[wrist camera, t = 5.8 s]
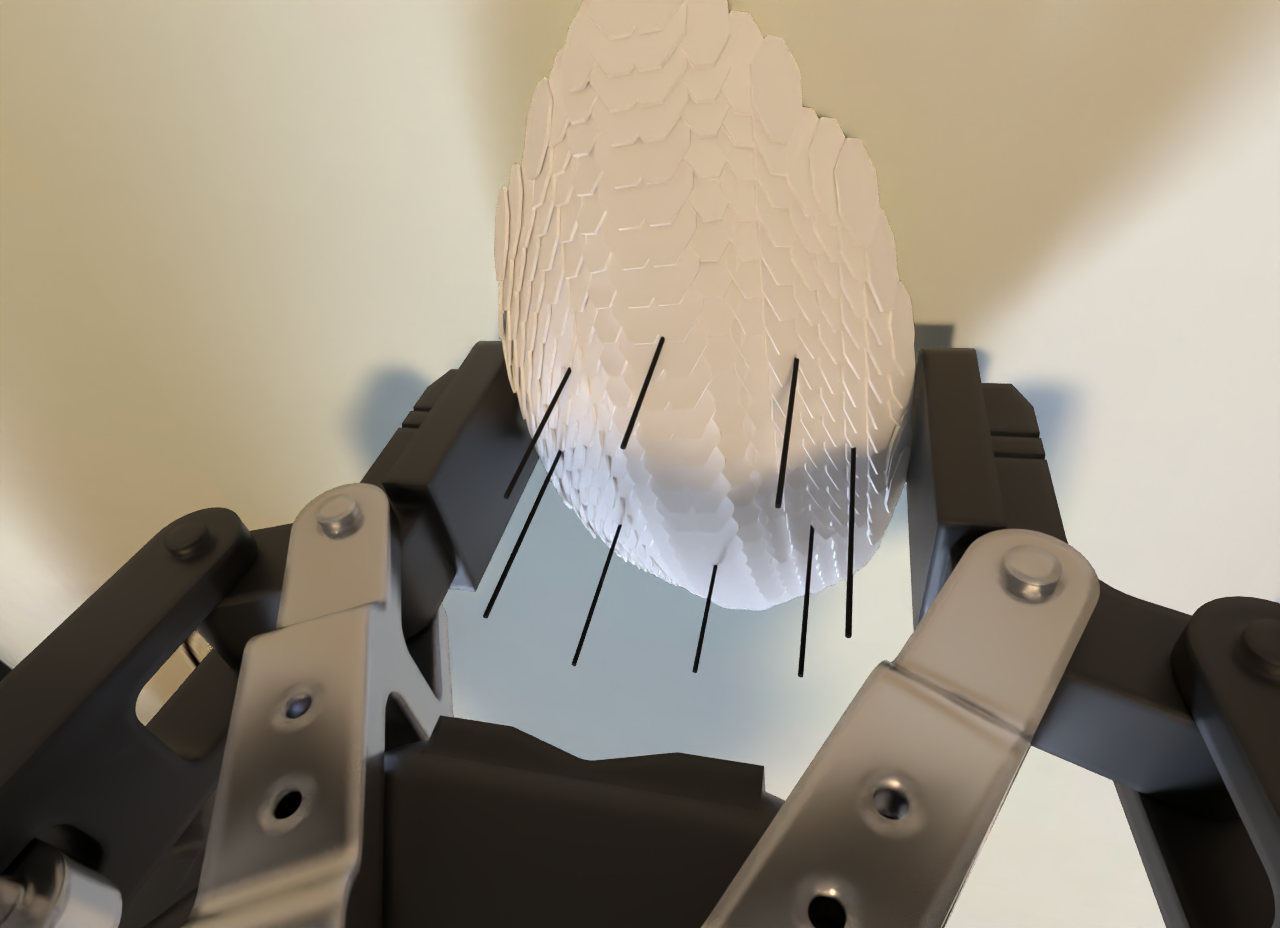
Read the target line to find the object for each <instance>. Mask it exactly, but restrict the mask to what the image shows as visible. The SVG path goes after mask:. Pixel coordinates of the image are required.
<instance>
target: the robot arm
mask: <svg viewBox="0 0 1280 928" xmlns="http://www.w3.org/2000/svg"><path fill="white" fill-rule="evenodd" d="M914 387H915V389H914V396H913V403H912V410H911V419H912V428H911V431H912V439H911V443H910V451H911V453H910V459H909V465H908V471H907V477H906V482H907V503H908V524H909V545H910V565H911V586H912V607H913V628H914V632H913V633H912V635H911V636H910V638H909V640H908V641H907V643H906V644H905V646H904V647H903V649H902V650H901V652H900V653H899V655H898V656H897V657H896V658H895V660H894V661H893V662H889V661H887V660H884V661H882V662H881V663H880V664H878V665H877V667H876V668H875V669H874V670H873V671H872V672H871V674H870V675H869V677H868V678H867V679H866V681H865V682H864V684H863V685H862V687H861V688H860V690H859V691H858V693H857V694H856V696H855V697H854V699H853V700H852V702H851V703H850V705H849V706H848V708H847V709H846V711H845V712H844V714H843V715H842V717H841V718H840V720H839V721H838V723H837V724H836V726H835V727H834V729H833V730H832V732H831V733H830V735H829V736H828V738H827V739H826V741H825V742H824V744H823V745H822V747H821V748H820V750H819V751H818V753H817V754H816V756H815V757H814V759H813V760H812V762H811V763H810V765H809V766H808V768H807V769H806V771H805V772H804V774H803V775H802V777H801V778H800V780H799V781H798V783H797V784H796V786H795V787H794V789H793V790H792V792H791V793H790V795H789V796H788V798H787V799H786V801H784V800H782V799H780V798H778V797H776V796H774V795H772V794H769V793H767V792H765V777H764V766H760V765H754V764H747V763H741V762H735V761H728V760H722V759H715V758H709V757H703V756H696V755H690V754H684V753H667V754H657V755H647V756H637V757H626V758H616V759H606V760H596V761H589V760H583V759H580V758H578V757H576V756H574V755H571V754H569V753H567V752H565V751H563V750H561V749H559V748H557V747H554V746H552V745H550V744H548V743H546V742H544V741H542V740H540V739H538V738H535V737H533V736H531V735H529V734H527V733H525V732H523V731H521V730H519V729H516V728H514V727H511V726H505V725H499V724H492V723H486V722H480V721H473V720H467V719H460V718H454V714H453V704H452V688H451V672H450V657H449V641H448V625H447V615H446V612H445V610H444V607H443V605H442V604H441V603H442V601H443V599H444V597H445V595H446V593H447V591H448V589H456V590H465V591H475V592H476V589H477V587H478V585H479V583H480V581H481V579H482V577H483V575H484V573H485V570H486V568H487V566H488V564H489V562H490V560H491V558H492V556H493V554H494V552H495V549H496V547H497V545H498V543H499V541H500V539H501V537H502V535H503V533H504V531H505V528H506V526H507V524H508V522H509V520H510V518H511V516H512V514H513V512H514V510H515V507H516V505H517V503H518V501H519V499H520V497H521V495H522V493H523V491H524V489H525V486H526V484H527V482H528V480H529V478H530V476H531V474H532V472H533V470H534V468H535V465H536V463H537V461H538V459H539V455H538V453H537V451H536V448H535V446H534V448H533V450H532V452H531V454H530V456H529V458H528V460H527V462H526V464H525V466H524V468H523V470H522V472H521V474H520V476H519V478H518V481H517V483H516V485H515V487H514V489H513V491H512V493H511V495H510V497H509V499H505V498H504V494H505V492H506V490H507V488H508V486H509V484H510V482H511V480H512V478H513V476H514V474H515V472H516V470H517V468H518V466H519V464H520V462H521V460H522V458H523V456H524V455H525V453H526V451H527V449H528V447H529V445H530V443H531V441H532V438H531V436H530V433H529V429H528V426H527V421H526V419H524V420H523V416H522V413H521V409H520V405H519V400H518V395H517V391H516V393H513V390H512V387H511V384H510V381H509V378H508V373H507V367H506V362H505V357H504V351H503V344H502V341H479V342H478V343H476V344H475V346H474V347H473V348H472V350H471V351H470V353H469V354H468V356H467V357H466V359H465V360H464V362H463V363H462V365H461V366H460V368H459V369H451V370H450V371H448V372H447V373H446V374H444V375H443V376H442V377H440V378H439V379H438V380H436V381H435V382H434V383H432V384H431V385H430V386H428V387H427V389H426V390H425V392H424V393H423V394H422V396H421V397H420V399H419V400H418V401H417V403H416V404H415V406H414V407H413V408H414V411H410V413H409V414H408V416H407V417H406V418H405V420H404V421H403V423H402V428H398V430H397V431H396V433H395V434H394V435H393V437H392V438H391V440H390V441H389V442H388V444H387V445H386V447H385V448H384V449H383V451H382V452H381V454H380V455H379V457H378V458H377V459H376V461H375V462H374V464H373V465H372V466H371V468H370V469H369V471H368V472H367V473H366V475H365V476H364V478H363V479H362V481H361V482H360V483H353V484H347V485H342V486H339V487H336V488H333V489H331V490H329V491H326V492H325V493H323V494H321V495H319V496H318V497H316V498H315V499H313V500H312V501H311V502H310V503H308V504H307V505H306V506H305V507H304V508H303V509H302V510H301V511H300V513H299V514H298V515H297V517H296V519H295V521H294V523H292V524H286V525H281V526H275V527H270V528H264V529H259V530H253V531H249V530H248V529H247V528H246V526H245V525H244V523H243V522H242V521H241V519H240V518H239V516H238V515H237V514H236V513H235V512H233V511H232V510H229V509H226V508H207V509H202V510H199V511H195V512H192V513H190V514H187V515H185V516H183V517H181V518H179V519H177V520H175V521H174V522H172V523H170V524H169V525H168V526H166V527H165V528H163V529H162V530H161V531H160V532H159V533H157V534H156V535H155V536H154V537H153V538H152V539H151V540H150V541H149V542H148V543H147V544H146V545H145V546H144V547H142V548H141V549H140V550H139V551H138V552H137V553H136V554H135V555H134V556H133V557H132V558H131V559H130V560H129V561H128V562H127V563H125V564H124V565H123V566H122V567H121V568H120V569H119V570H118V571H117V572H116V573H115V574H114V575H113V576H112V577H111V578H110V579H108V580H107V581H106V582H105V583H104V584H103V585H102V586H101V587H100V588H99V589H98V590H97V591H96V592H95V593H94V594H93V595H91V596H90V597H89V598H88V599H87V600H86V601H85V602H84V603H83V604H82V605H81V606H80V607H79V608H78V609H77V610H76V611H74V612H73V613H72V614H71V615H70V616H69V617H68V618H67V619H66V620H65V621H64V622H63V623H62V624H61V625H60V626H59V627H57V628H56V629H55V630H54V631H53V632H52V633H51V634H50V635H49V636H48V637H47V638H46V639H45V640H44V641H43V642H42V643H40V644H39V645H38V646H37V647H36V648H35V649H34V650H33V651H32V652H31V653H30V654H29V655H28V656H27V657H26V658H25V659H23V660H22V661H21V662H20V663H19V664H18V665H17V666H16V667H15V668H14V669H13V670H12V671H11V672H10V673H9V674H8V675H6V676H5V677H4V678H3V679H2V680H1V681H0V928H945V926H946V924H947V922H948V920H949V918H950V916H951V913H952V911H953V909H954V907H955V905H956V903H957V901H958V899H959V897H960V894H961V892H962V890H963V888H964V886H965V884H966V882H967V880H968V877H969V875H970V873H971V871H972V869H973V867H974V865H975V863H976V860H977V858H978V856H979V854H980V852H981V850H982V848H983V846H984V843H985V841H986V839H987V837H988V835H989V833H990V831H991V829H992V827H993V825H994V822H995V820H996V818H997V816H998V814H999V812H1000V810H1001V808H1002V806H1003V804H1004V802H1005V799H1006V797H1007V795H1008V793H1009V791H1010V789H1011V787H1012V785H1013V783H1014V781H1015V778H1016V776H1017V774H1018V772H1019V770H1020V768H1021V766H1022V764H1023V762H1024V760H1025V757H1026V755H1027V753H1028V751H1029V749H1030V747H1031V746H1034V747H1036V748H1038V749H1041V750H1043V751H1045V752H1048V753H1050V754H1052V755H1055V756H1057V757H1059V758H1062V759H1064V760H1066V761H1069V762H1071V763H1073V764H1076V765H1078V766H1080V767H1083V768H1085V769H1087V770H1090V771H1092V772H1094V773H1097V774H1099V775H1101V776H1104V777H1106V778H1108V779H1111V780H1113V782H1114V785H1115V787H1116V790H1117V793H1118V796H1119V799H1120V801H1121V804H1122V807H1123V810H1124V812H1125V815H1126V818H1127V821H1128V823H1129V826H1130V829H1131V832H1132V834H1133V837H1134V840H1135V843H1136V845H1137V848H1138V851H1139V854H1140V856H1141V859H1142V862H1143V865H1144V867H1145V870H1146V873H1147V876H1148V878H1149V881H1150V884H1151V887H1152V889H1153V892H1154V895H1155V898H1156V900H1157V903H1158V906H1159V909H1160V911H1161V914H1162V917H1163V920H1164V923H1165V925H1166V928H1280V604H1279V603H1276V602H1272V601H1269V600H1265V599H1259V598H1253V597H1241V596H1236V597H1224V598H1219V599H1215V600H1212V601H1210V602H1208V603H1205V604H1204V605H1202V606H1201V607H1200V608H1198V609H1197V611H1196V612H1195V613H1194V614H1193V615H1192V616H1191V615H1188V614H1185V613H1182V612H1179V611H1176V610H1172V609H1169V608H1166V607H1163V606H1160V605H1157V604H1154V603H1151V602H1147V601H1144V600H1141V599H1138V598H1135V597H1133V596H1130V595H1127V594H1125V593H1123V592H1121V591H1118V590H1116V589H1114V588H1112V587H1111V586H1109V585H1107V584H1106V583H1104V582H1102V581H1101V580H1099V579H1098V577H1097V574H1096V572H1095V570H1094V568H1093V567H1092V566H1091V564H1090V563H1089V561H1088V560H1087V559H1086V558H1085V557H1084V556H1083V555H1082V554H1081V553H1080V552H1078V551H1077V550H1076V549H1074V548H1073V547H1072V546H1070V545H1068V542H1067V539H1066V535H1065V531H1064V528H1063V524H1062V520H1061V516H1060V512H1059V508H1058V504H1057V500H1056V496H1055V492H1054V488H1053V484H1052V480H1051V476H1050V472H1049V468H1048V464H1047V460H1045V452H1044V448H1043V444H1042V440H1041V438H1039V435H1040V432H1039V428H1038V424H1037V420H1036V416H1035V412H1034V408H1033V406H1032V405H1031V404H1030V403H1029V402H1028V401H1027V400H1026V399H1025V398H1024V397H1023V395H1022V394H1021V393H1020V392H1019V391H1018V390H1017V389H1016V388H1015V387H1014V386H1013V385H1012V384H998V383H981V378H980V373H979V367H978V361H977V356H976V351H975V349H974V348H921V349H920V351H919V356H918V362H917V368H916V375H915V382H914ZM195 629H196V630H197V631H198V632H199V633H200V634H201V635H202V637H203V638H204V639H205V640H206V641H207V642H208V643H209V644H210V645H211V646H212V648H213V649H212V650H211V651H210V652H209V654H208V655H207V656H206V657H205V658H204V659H203V661H202V662H201V663H200V664H199V665H198V666H197V667H196V669H195V670H194V671H193V672H192V673H191V674H190V676H189V677H188V678H187V679H186V680H185V681H184V682H183V684H182V685H181V686H180V687H179V688H178V689H177V691H176V692H175V693H174V694H173V695H172V696H171V697H170V699H169V700H168V701H167V702H166V703H165V704H164V706H163V707H162V708H161V709H160V710H159V711H158V712H157V714H156V715H155V716H154V717H153V718H152V719H151V721H150V722H149V723H148V724H147V725H146V726H144V725H143V724H142V723H141V722H140V721H139V720H138V718H137V716H136V712H135V706H136V701H137V698H138V695H139V693H140V691H141V690H142V688H143V687H144V685H145V684H146V683H147V682H148V681H149V680H150V679H151V677H152V676H153V675H154V674H155V673H156V672H157V671H158V670H159V669H160V667H161V666H162V665H163V664H164V663H165V662H166V661H167V660H168V659H169V658H170V656H171V655H172V654H173V653H174V652H175V651H176V650H177V649H178V648H179V646H180V645H181V644H182V643H183V642H184V641H185V640H186V639H187V638H188V637H189V635H190V634H191V633H192V632H193V631H194V630H195Z"/></svg>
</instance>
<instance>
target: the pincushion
mask: <svg viewBox="0 0 1280 928" xmlns="http://www.w3.org/2000/svg"><path fill="white" fill-rule="evenodd" d="M494 257H495V268H496V279H497V281H499V338H502V344H503V351H504V357H505V362H506V367H507V373H508V378H509V381H510V384H511V387H512V390H513V393H516V391H517V395H518V400H519V405H520V409H521V413H522V416H523V420H524V419H526V421H527V426H528V429H529V433H530V436H531V438H532V441H531V443H530V445H529V447H528V449H527V451H526V453H525V455H524V456H523V458H522V460H521V462H520V464H519V466H518V468H517V470H516V472H515V474H514V476H513V478H512V480H511V482H510V484H509V486H508V488H507V490H506V492H505V494H504V498H505V499H509V497H510V495H511V493H512V491H513V489H514V487H515V485H516V483H517V481H518V478H519V476H520V474H521V472H522V470H523V468H524V466H525V464H526V462H527V460H528V458H529V456H530V454H531V452H532V450H533V448H534V446H535V448H536V451H537V453H538V455H539V457H540V459H541V462H542V464H543V466H544V468H545V470H546V472H547V474H548V475H547V477H546V479H545V481H544V484H543V486H542V488H541V490H540V492H539V494H538V497H537V499H536V501H535V503H534V505H533V508H532V510H531V512H530V514H529V516H528V519H527V521H526V523H525V525H524V527H523V529H522V532H521V534H520V536H519V538H518V540H517V543H516V545H515V547H514V549H513V551H512V553H511V556H510V558H509V560H508V562H507V564H506V567H505V569H504V571H503V573H502V575H501V578H500V580H499V582H498V584H497V586H496V588H495V591H494V593H493V595H492V597H491V599H490V602H489V604H488V606H487V608H486V610H485V612H484V615H483V617H484V618H488V616H489V614H490V611H491V609H492V607H493V605H494V603H495V600H496V598H497V596H498V594H499V591H500V589H501V587H502V585H503V583H504V580H505V578H506V576H507V574H508V572H509V569H510V567H511V565H512V563H513V560H514V558H515V556H516V554H517V552H518V549H519V547H520V545H521V543H522V540H523V538H524V536H525V534H526V532H527V529H528V527H529V525H530V523H531V521H532V518H533V516H534V514H535V512H536V509H537V507H538V505H539V503H540V501H541V498H542V496H543V494H544V492H545V489H546V487H547V485H548V483H549V481H550V480H551V482H552V484H553V485H554V487H555V488H556V490H557V492H558V494H559V496H560V497H561V499H562V501H563V502H564V503H565V505H566V506H567V507H568V508H569V509H570V510H571V509H572V508H574V510H575V512H576V514H577V516H578V518H580V519H581V521H582V522H583V524H584V526H585V528H586V529H588V530H589V531H590V533H591V534H592V536H593V537H594V539H595V538H596V534H595V532H596V533H597V534H598V535H599V536H600V538H601V539H602V540H603V542H604V543H606V544H607V545H608V547H609V548H610V551H609V554H608V557H607V560H606V563H605V566H604V569H603V572H602V575H601V578H600V581H599V584H598V587H597V590H596V593H595V596H594V599H593V602H592V605H591V608H590V611H589V614H588V617H587V620H586V623H585V626H584V629H583V632H582V635H581V638H580V641H579V644H578V647H577V650H576V653H575V656H574V659H573V662H572V665H573V666H576V663H577V660H578V657H579V654H580V651H581V648H582V645H583V642H584V639H585V636H586V633H587V630H588V627H589V624H590V621H591V618H592V615H593V612H594V609H595V606H596V603H597V600H598V597H599V594H600V591H601V588H602V585H603V582H604V578H605V575H606V572H607V569H608V566H609V563H610V560H611V557H612V554H613V551H614V552H615V553H616V554H617V556H618V557H620V556H621V557H622V559H623V560H624V561H625V562H627V561H628V560H629V562H630V563H631V564H632V565H634V564H635V565H636V566H637V568H638V569H639V570H640V568H642V569H643V570H644V571H645V573H646V572H647V571H648V572H649V573H650V574H651V573H653V574H654V575H655V576H656V577H657V576H659V577H660V578H661V579H663V580H664V581H667V582H668V583H669V584H671V583H672V584H673V585H675V586H677V584H678V585H679V586H680V587H682V586H683V587H685V588H686V589H688V590H689V591H690V592H691V593H692V594H695V595H697V596H700V597H702V598H705V599H707V602H706V607H705V612H704V617H703V622H702V627H701V632H700V637H699V642H698V647H697V652H696V657H695V662H694V667H693V672H694V673H697V669H698V664H699V659H700V654H701V649H702V644H703V638H704V633H705V628H706V623H707V618H708V613H709V607H710V602H713V603H715V604H717V605H718V606H720V607H724V608H725V609H744V608H745V609H746V610H763V611H764V610H765V609H769V608H771V607H773V606H775V605H777V604H781V603H785V602H788V601H790V600H791V599H793V598H794V597H799V596H802V595H804V594H805V597H804V609H803V621H802V633H801V646H800V658H799V670H798V676H799V677H803V671H804V658H805V645H806V632H807V619H808V606H809V593H817V592H819V591H821V590H823V589H824V588H825V587H826V586H827V585H828V586H832V585H834V584H836V583H837V582H839V581H840V580H841V579H842V580H845V581H846V580H847V597H846V629H845V636H846V637H847V638H851V635H852V594H853V575H854V574H855V572H856V571H858V570H859V569H861V568H862V567H864V566H865V565H866V564H867V563H868V562H869V560H870V559H871V558H872V556H873V555H874V554H875V552H876V551H877V549H878V548H879V546H880V543H881V540H882V538H883V535H884V531H885V529H886V527H887V525H888V523H889V521H890V520H891V518H892V515H893V511H894V507H895V506H896V504H897V502H898V499H899V497H900V494H901V492H902V489H903V487H904V484H905V481H906V477H907V471H908V465H909V459H910V453H911V451H910V443H911V439H912V431H911V428H912V419H911V410H912V403H913V396H914V389H915V387H914V374H915V367H916V364H915V353H914V337H915V330H914V321H913V313H912V304H911V298H910V296H909V295H908V293H907V291H906V289H905V287H904V285H903V283H902V281H901V280H900V281H898V269H897V258H896V247H895V239H894V236H893V234H892V231H891V228H890V226H889V223H888V221H887V218H886V215H885V213H884V210H883V208H880V204H879V194H878V184H877V173H876V170H875V168H874V166H873V164H872V162H871V160H870V158H869V156H868V154H867V152H866V150H865V148H864V146H863V143H862V141H861V139H855V138H845V136H844V134H843V132H842V130H841V128H840V126H839V124H838V122H837V120H836V119H834V118H826V117H821V118H820V119H819V118H818V117H817V115H816V113H815V111H814V109H813V108H806V107H802V86H801V72H800V70H799V68H798V66H797V64H796V62H795V60H794V58H793V56H792V55H791V53H790V51H789V49H788V47H787V45H786V43H785V41H784V39H783V38H779V37H774V36H770V35H766V37H765V39H764V37H763V35H762V33H761V32H760V30H759V28H758V27H757V25H756V23H755V21H754V20H753V18H752V16H751V15H750V13H746V12H739V11H733V10H731V12H730V14H729V11H728V0H584V2H583V4H582V5H581V7H580V9H579V11H578V13H577V14H576V16H575V18H574V20H573V21H572V23H571V25H570V27H569V28H568V32H567V37H566V42H565V46H564V47H563V48H562V49H560V50H559V51H558V54H557V56H556V59H555V62H554V65H553V68H552V70H551V73H550V76H549V79H548V80H547V79H546V78H545V77H543V78H542V79H541V80H540V81H539V82H538V83H537V84H536V87H535V91H534V95H533V98H532V102H531V106H530V109H529V113H528V116H527V122H526V134H525V146H524V153H523V158H522V163H521V167H520V164H518V163H515V164H514V165H513V166H512V168H511V174H510V180H509V185H508V191H507V188H506V187H505V186H502V187H501V188H500V189H499V196H498V203H497V211H496V218H495V246H494ZM503 310H504V312H503ZM572 506H573V507H572ZM593 529H594V530H595V532H594V530H593ZM627 559H628V560H627Z"/></svg>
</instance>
